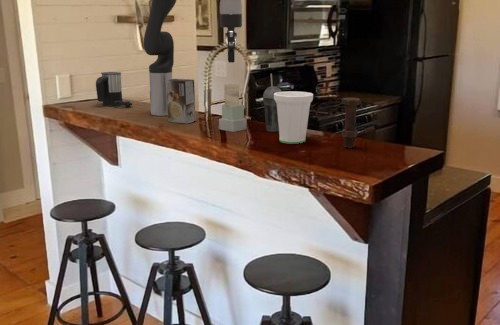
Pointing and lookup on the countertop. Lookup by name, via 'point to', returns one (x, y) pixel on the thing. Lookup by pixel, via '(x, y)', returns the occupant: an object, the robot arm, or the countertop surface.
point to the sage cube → (233, 112)
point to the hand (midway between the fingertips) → (231, 61)
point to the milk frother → (110, 89)
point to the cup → (293, 115)
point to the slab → (232, 125)
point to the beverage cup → (271, 108)
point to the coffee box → (181, 100)
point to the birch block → (231, 94)
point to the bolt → (350, 121)
